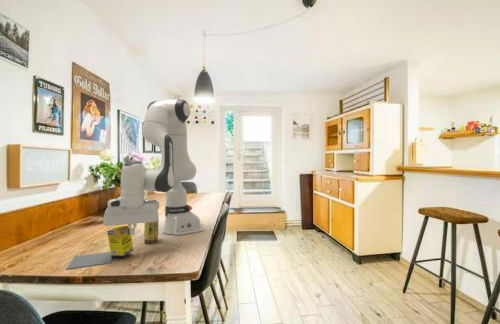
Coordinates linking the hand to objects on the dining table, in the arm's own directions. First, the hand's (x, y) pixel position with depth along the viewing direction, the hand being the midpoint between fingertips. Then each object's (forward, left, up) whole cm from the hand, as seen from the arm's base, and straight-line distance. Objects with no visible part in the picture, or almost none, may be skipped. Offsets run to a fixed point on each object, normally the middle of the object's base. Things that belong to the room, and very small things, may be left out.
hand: (131, 234), depth 98 cm
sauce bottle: (-8, -15, -9) cm, 19 cm away
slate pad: (+14, -1, -9) cm, 16 cm away
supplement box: (+3, -1, -8) cm, 9 cm away
